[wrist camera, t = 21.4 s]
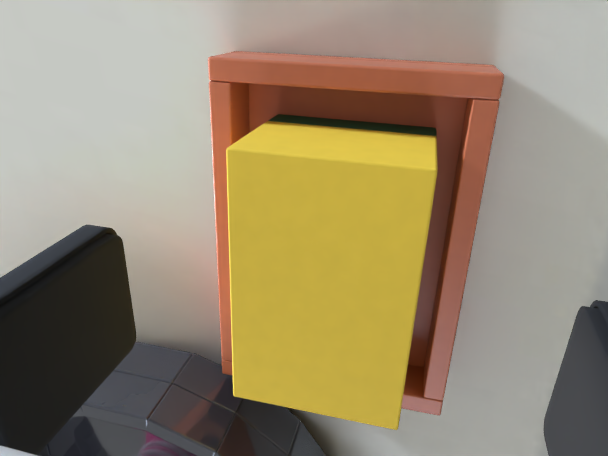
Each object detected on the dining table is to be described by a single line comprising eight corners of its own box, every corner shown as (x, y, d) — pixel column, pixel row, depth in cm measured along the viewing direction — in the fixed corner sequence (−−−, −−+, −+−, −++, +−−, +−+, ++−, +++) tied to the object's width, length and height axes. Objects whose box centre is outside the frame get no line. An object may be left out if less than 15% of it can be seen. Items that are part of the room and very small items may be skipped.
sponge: (276, 113, 14) (225, 147, 11) (436, 127, 13) (437, 169, 10) (273, 316, 17) (232, 396, 14) (405, 339, 16) (397, 431, 13)
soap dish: (235, 50, 14) (206, 56, 13) (495, 65, 13) (505, 73, 11) (242, 339, 19) (221, 373, 17) (439, 374, 17) (440, 416, 15)
